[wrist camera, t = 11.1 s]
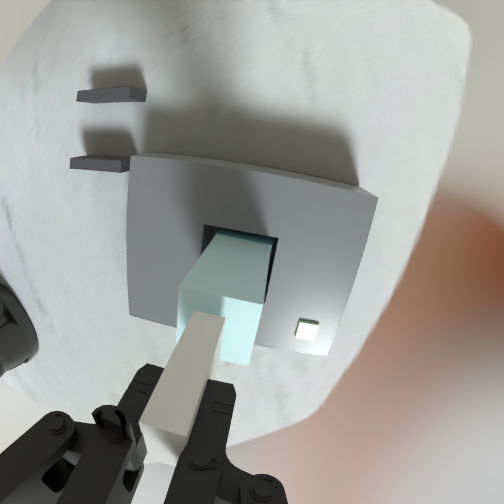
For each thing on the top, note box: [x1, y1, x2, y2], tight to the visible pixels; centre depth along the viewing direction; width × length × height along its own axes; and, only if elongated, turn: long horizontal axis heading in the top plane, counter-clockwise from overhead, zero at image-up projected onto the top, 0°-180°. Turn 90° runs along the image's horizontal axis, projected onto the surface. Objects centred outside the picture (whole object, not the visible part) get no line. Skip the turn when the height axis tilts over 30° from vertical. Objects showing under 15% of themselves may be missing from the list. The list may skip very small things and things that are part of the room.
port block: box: [127, 153, 378, 356], centre depth 24 cm, size 18×14×5 cm
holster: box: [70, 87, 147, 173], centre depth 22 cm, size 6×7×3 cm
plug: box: [176, 227, 273, 366], centre depth 19 cm, size 4×4×12 cm
